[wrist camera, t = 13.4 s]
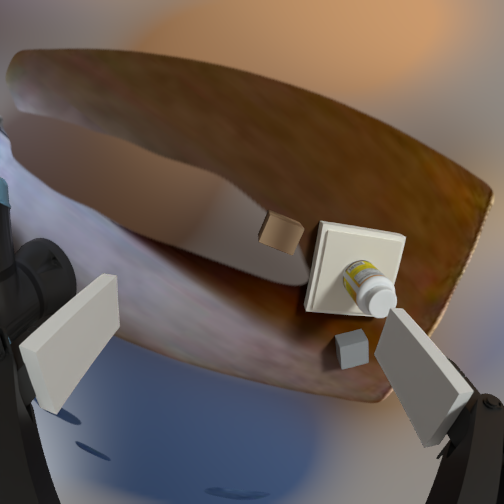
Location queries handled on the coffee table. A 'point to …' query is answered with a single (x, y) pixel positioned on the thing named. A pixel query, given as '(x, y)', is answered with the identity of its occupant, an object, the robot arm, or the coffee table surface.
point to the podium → (340, 256)
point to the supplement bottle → (369, 288)
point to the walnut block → (280, 232)
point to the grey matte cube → (351, 348)
